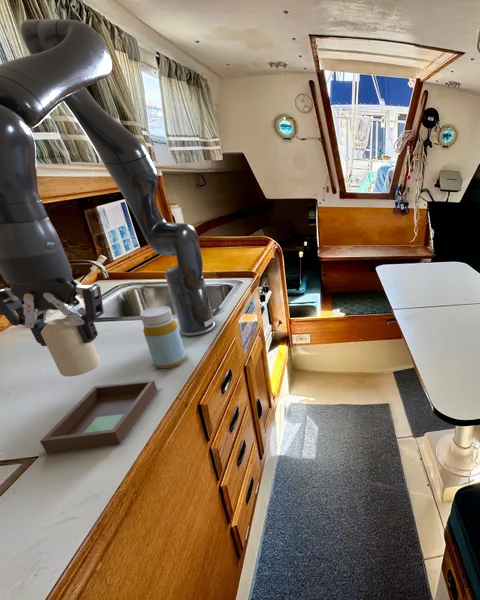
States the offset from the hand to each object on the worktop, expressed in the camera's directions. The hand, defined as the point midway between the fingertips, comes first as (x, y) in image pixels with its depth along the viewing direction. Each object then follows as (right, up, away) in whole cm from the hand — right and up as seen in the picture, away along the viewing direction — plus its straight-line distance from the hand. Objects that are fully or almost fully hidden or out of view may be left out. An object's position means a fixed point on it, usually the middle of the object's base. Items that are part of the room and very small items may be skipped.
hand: (69, 341), depth 57 cm
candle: (0, -5, +2) cm, 6 cm away
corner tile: (0, -18, +7) cm, 19 cm away
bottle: (-2, -9, +29) cm, 30 cm away
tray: (-2, -17, +10) cm, 20 cm away
